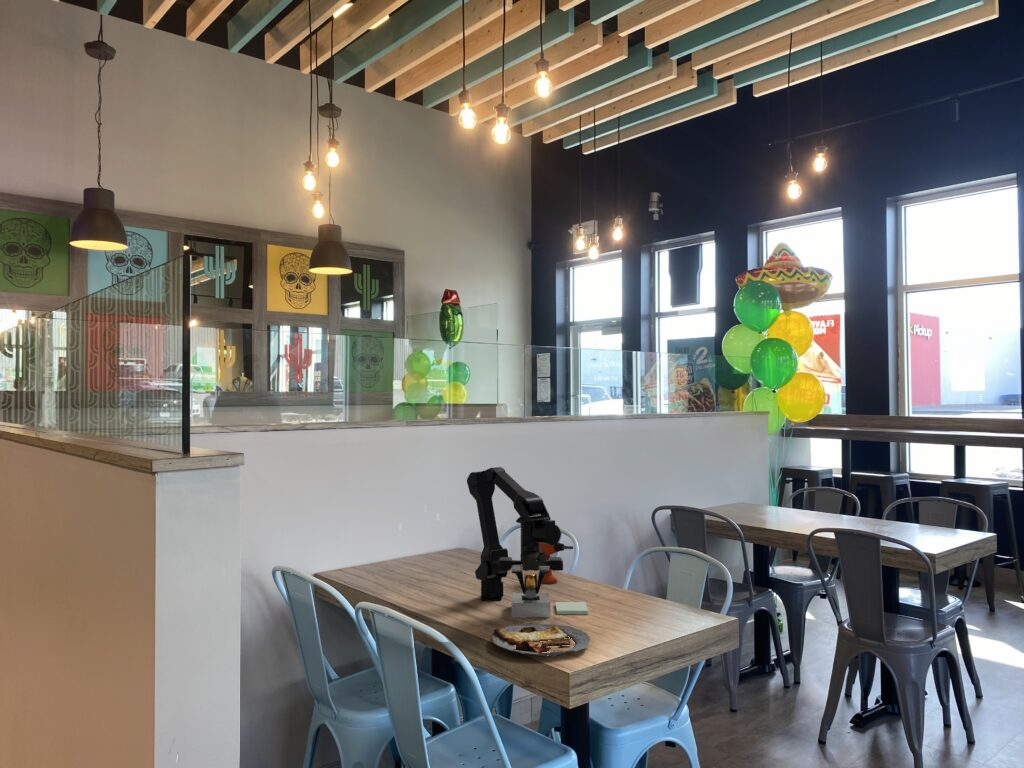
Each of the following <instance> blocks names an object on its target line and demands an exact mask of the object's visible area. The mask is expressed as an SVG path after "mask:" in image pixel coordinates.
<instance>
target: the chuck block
mask: <svg viewBox="0 0 1024 768" xmlns="http://www.w3.org/2000/svg"><path fill="white" fill-rule="evenodd" d="M511 618H551V597H550V593H549V592H539V593H538V594H537V600H524V594H523V592H511Z"/></svg>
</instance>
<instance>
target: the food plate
mask: <svg viewBox="0 0 1024 768" xmlns="http://www.w3.org/2000/svg"><path fill="white" fill-rule="evenodd" d="M568 636H569V637H570V639H571V638H572V640H573V641H574V642H575V646H574V645H573V646H574V647H573V646H572V647H573V648H569V649H566V650H563V651H560V650H559V651H555V652H553V651H552V652H550V653H542V652H547V651H549V650H550V649H551V648H550V647H548V646H562V645H570V643H571V644H572V642H571V641H570V639H564V638H569V637H568ZM490 640H491V642H492V643H493V645H494V646H496V647H497V648H501V649H504V650H507V651H508V652H510V653H511V652H513V653H517V654H519V653H520V655H525V654H528V656H534V655H536V656H538V657H547V655H551V656H554V657H556V656H558V655H564V654H566V653H571V652H579V651H582V650H583V649H586V648H587V647H588V646H589V643H590V642H591V637H590V635H588V633H586V632H585V631H583V630H582V629H580V628H576V627H573V626H570V625H566V624H559V623H544V622H541V623H534V622H529V623H528V622H527V623H521V624H516V625H510V626H506V627H502V628H500V627H497V628H494V630H493V634H492V635H491V637H490ZM548 640H551V641H548ZM540 641H546V642H542V645H539V644H536V643H534V642H540ZM514 645H516V649H512V648H511V647H514ZM570 646H571V645H570ZM555 655H556V656H555ZM551 656H550V657H551Z"/></svg>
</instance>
